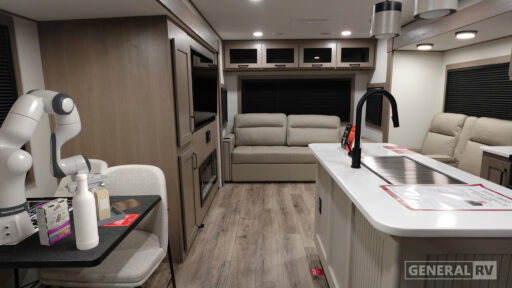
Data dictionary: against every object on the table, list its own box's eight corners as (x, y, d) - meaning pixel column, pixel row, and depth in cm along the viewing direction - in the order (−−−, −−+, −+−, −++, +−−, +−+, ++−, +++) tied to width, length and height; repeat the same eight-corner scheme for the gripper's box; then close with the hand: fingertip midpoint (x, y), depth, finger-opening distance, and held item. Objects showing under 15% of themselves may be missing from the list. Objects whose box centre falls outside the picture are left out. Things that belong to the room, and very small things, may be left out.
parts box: (99, 221, 138) (97, 193, 136) (96, 218, 142) (93, 191, 140) (110, 218, 142) (108, 191, 140) (107, 215, 145) (105, 188, 143)
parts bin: (91, 229, 131) (90, 223, 131) (81, 219, 142) (81, 213, 141) (125, 219, 142) (125, 213, 142) (114, 210, 153) (113, 205, 152)
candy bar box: (62, 232, 128) (58, 197, 126) (72, 233, 127) (68, 198, 125) (39, 245, 118) (34, 207, 115) (49, 246, 117) (44, 208, 114)
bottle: (72, 247, 116) (64, 175, 111) (91, 238, 123) (85, 170, 118) (83, 252, 112) (76, 178, 107) (103, 243, 119) (96, 173, 114)
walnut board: (119, 211, 151) (119, 210, 151) (111, 205, 159) (111, 203, 159) (141, 205, 160) (141, 204, 159) (132, 200, 168) (132, 198, 168)
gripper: (62, 180, 151) (69, 186, 141) (104, 172, 165) (113, 177, 156) (64, 191, 152) (71, 198, 143) (105, 182, 166) (114, 188, 157)
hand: (93, 187), depth 149 cm, fingers open, 8 cm apart
